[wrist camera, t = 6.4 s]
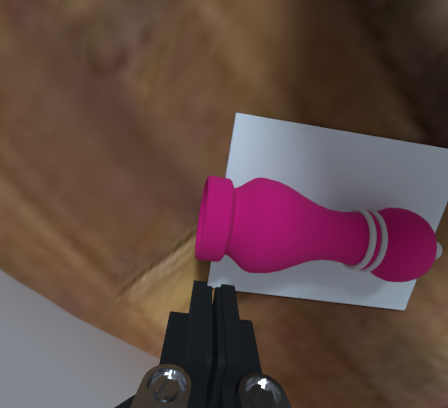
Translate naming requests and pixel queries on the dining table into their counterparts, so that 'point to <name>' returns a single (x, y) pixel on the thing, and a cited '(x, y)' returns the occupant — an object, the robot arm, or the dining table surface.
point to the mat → (333, 199)
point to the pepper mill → (308, 232)
